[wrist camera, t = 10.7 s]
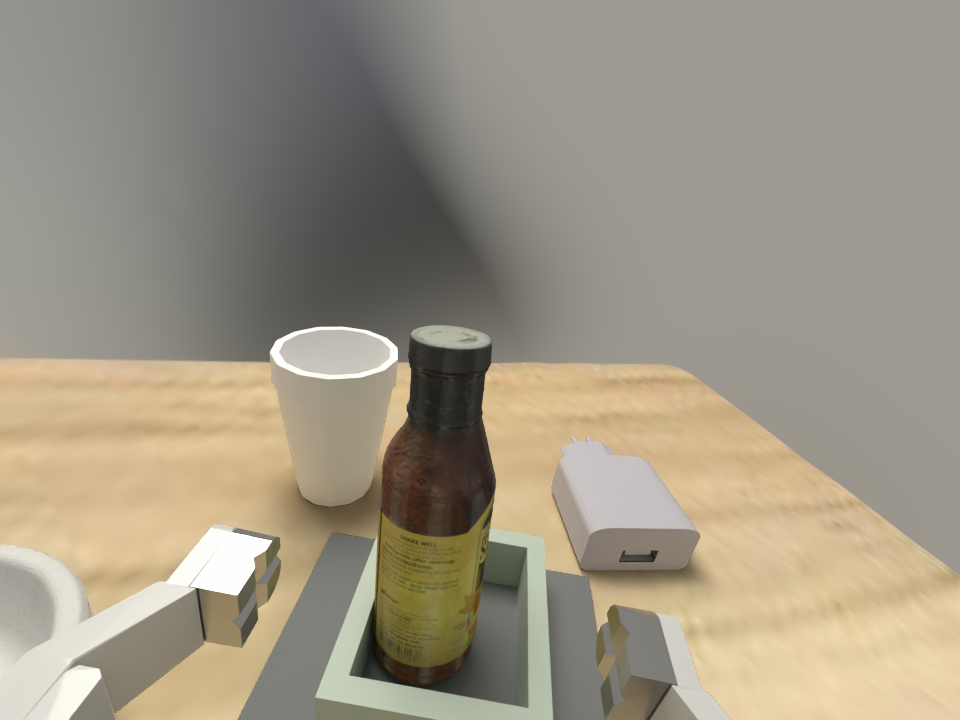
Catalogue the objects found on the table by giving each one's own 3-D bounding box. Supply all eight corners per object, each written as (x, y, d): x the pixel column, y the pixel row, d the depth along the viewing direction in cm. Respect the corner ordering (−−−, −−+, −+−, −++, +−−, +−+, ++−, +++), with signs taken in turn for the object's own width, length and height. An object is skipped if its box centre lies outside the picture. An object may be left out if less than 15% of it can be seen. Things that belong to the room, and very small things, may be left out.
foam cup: (257, 510, 37) (244, 366, 31) (304, 442, 45) (301, 320, 40) (374, 527, 37) (382, 387, 31) (399, 457, 45) (409, 337, 40)
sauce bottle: (488, 673, 27) (548, 360, 20) (382, 708, 24) (410, 364, 18) (451, 586, 33) (489, 318, 26) (362, 607, 30) (377, 317, 23)
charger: (614, 457, 51) (684, 572, 37) (534, 454, 49) (577, 572, 36) (626, 421, 49) (704, 529, 35) (543, 417, 47) (592, 528, 34)
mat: (198, 802, 21) (197, 798, 21) (332, 535, 35) (332, 532, 35) (632, 884, 21) (634, 880, 20) (587, 580, 35) (588, 577, 35)
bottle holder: (316, 742, 23) (315, 697, 22) (383, 549, 34) (386, 509, 33) (537, 784, 23) (554, 741, 21) (533, 576, 34) (543, 537, 32)
